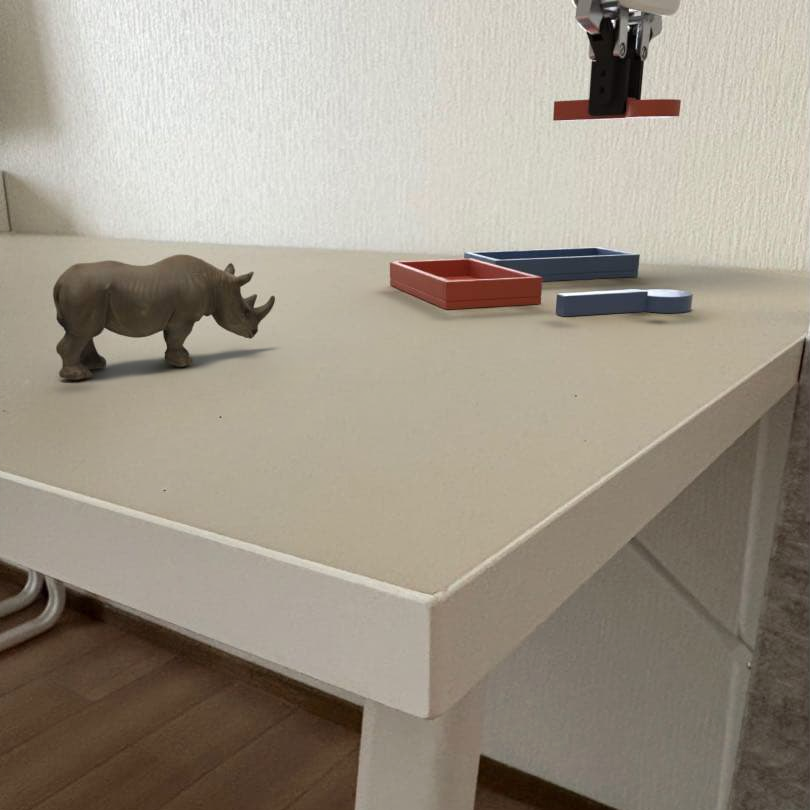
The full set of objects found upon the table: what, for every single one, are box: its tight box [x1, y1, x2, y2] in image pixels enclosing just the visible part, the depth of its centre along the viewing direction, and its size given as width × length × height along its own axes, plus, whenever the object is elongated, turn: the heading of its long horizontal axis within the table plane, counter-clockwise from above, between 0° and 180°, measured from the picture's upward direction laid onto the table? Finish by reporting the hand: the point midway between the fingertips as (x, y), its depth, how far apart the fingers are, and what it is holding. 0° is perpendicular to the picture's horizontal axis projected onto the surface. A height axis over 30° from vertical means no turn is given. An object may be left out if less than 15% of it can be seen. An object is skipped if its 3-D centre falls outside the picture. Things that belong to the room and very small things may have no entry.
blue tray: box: [463, 246, 641, 283], centre depth 87 cm, size 15×8×2 cm, turn 108°
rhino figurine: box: [52, 253, 276, 381], centre depth 51 cm, size 4×14×6 cm, turn 126°
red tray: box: [389, 258, 543, 310], centre depth 76 cm, size 15×8×2 cm, turn 18°
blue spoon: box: [555, 288, 694, 318], centre depth 67 cm, size 11×4×2 cm, turn 108°
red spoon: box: [552, 97, 682, 122], centre depth 72 cm, size 11×4×2 cm, turn 49°
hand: (613, 114), depth 73 cm, fingers closed on red spoon, 1 cm apart
